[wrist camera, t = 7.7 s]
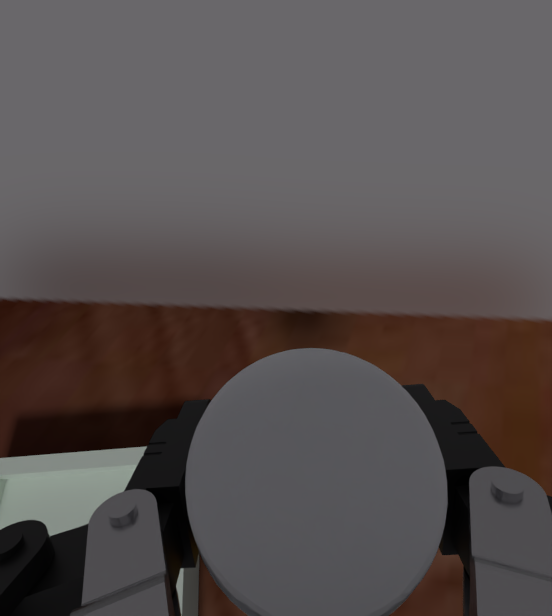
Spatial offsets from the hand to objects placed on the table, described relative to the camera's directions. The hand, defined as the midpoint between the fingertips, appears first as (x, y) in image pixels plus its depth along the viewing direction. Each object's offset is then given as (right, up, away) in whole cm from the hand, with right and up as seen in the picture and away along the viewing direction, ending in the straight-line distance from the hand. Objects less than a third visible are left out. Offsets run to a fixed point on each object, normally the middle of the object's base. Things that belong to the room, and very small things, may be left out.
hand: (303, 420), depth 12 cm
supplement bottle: (0, -4, +3) cm, 5 cm away
